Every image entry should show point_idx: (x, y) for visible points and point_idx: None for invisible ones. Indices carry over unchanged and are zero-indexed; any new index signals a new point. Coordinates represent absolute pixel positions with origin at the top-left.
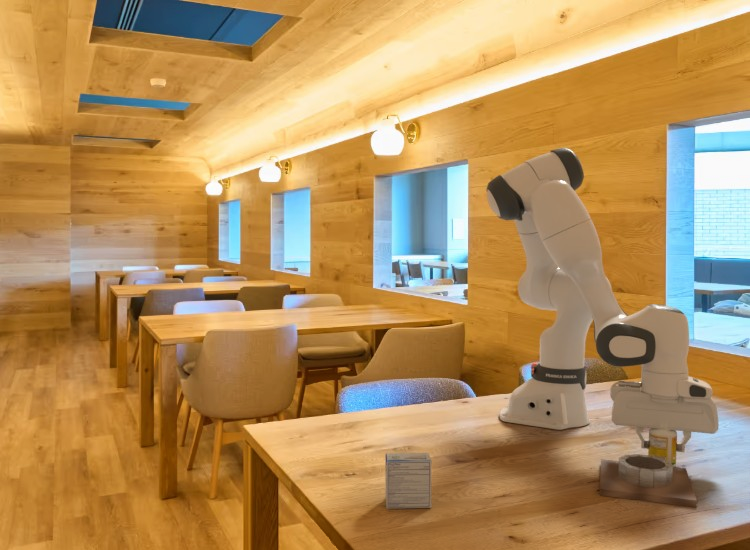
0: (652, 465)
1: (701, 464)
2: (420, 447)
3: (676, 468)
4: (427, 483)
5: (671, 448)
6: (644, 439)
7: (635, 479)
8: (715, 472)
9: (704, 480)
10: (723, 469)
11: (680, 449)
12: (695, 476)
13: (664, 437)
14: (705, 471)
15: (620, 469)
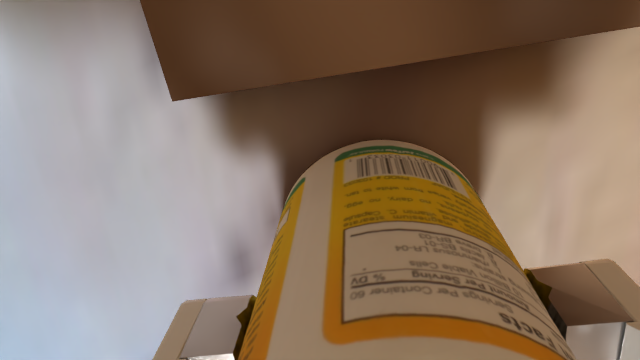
0: None
1: (148, 327)
2: None
3: (242, 50)
4: None
5: (289, 260)
6: (631, 346)
7: None
8: (34, 225)
9: (32, 5)
10: (18, 296)
11: (213, 310)
12: (116, 73)
13: (380, 337)
14: (91, 216)
15: None
